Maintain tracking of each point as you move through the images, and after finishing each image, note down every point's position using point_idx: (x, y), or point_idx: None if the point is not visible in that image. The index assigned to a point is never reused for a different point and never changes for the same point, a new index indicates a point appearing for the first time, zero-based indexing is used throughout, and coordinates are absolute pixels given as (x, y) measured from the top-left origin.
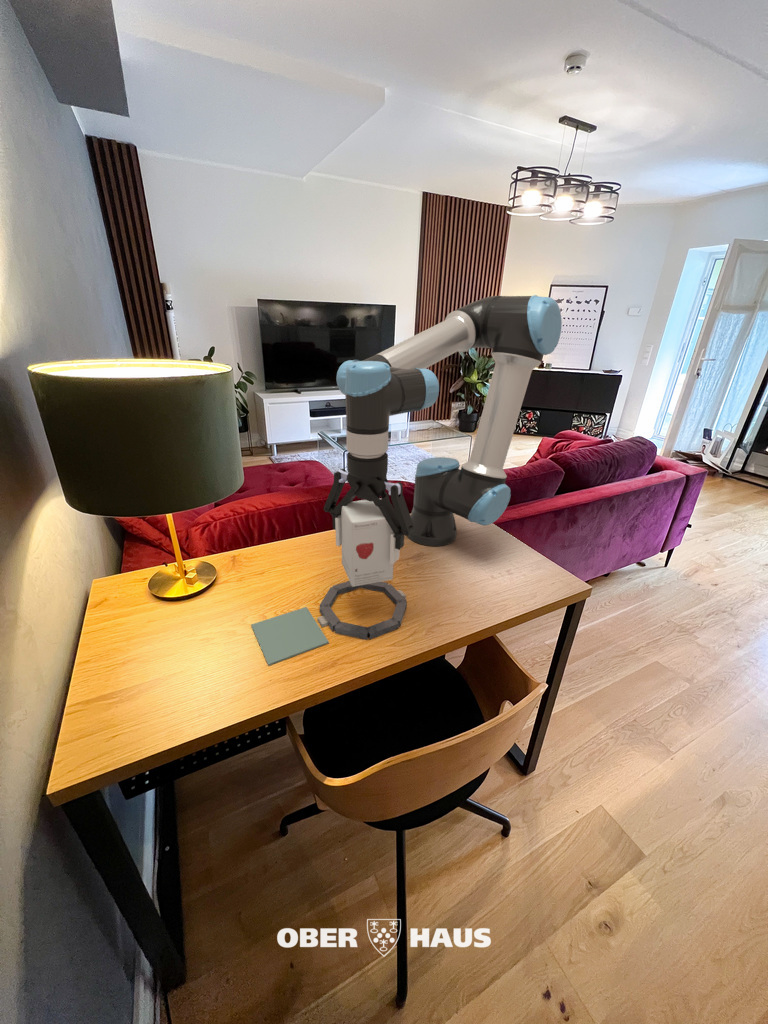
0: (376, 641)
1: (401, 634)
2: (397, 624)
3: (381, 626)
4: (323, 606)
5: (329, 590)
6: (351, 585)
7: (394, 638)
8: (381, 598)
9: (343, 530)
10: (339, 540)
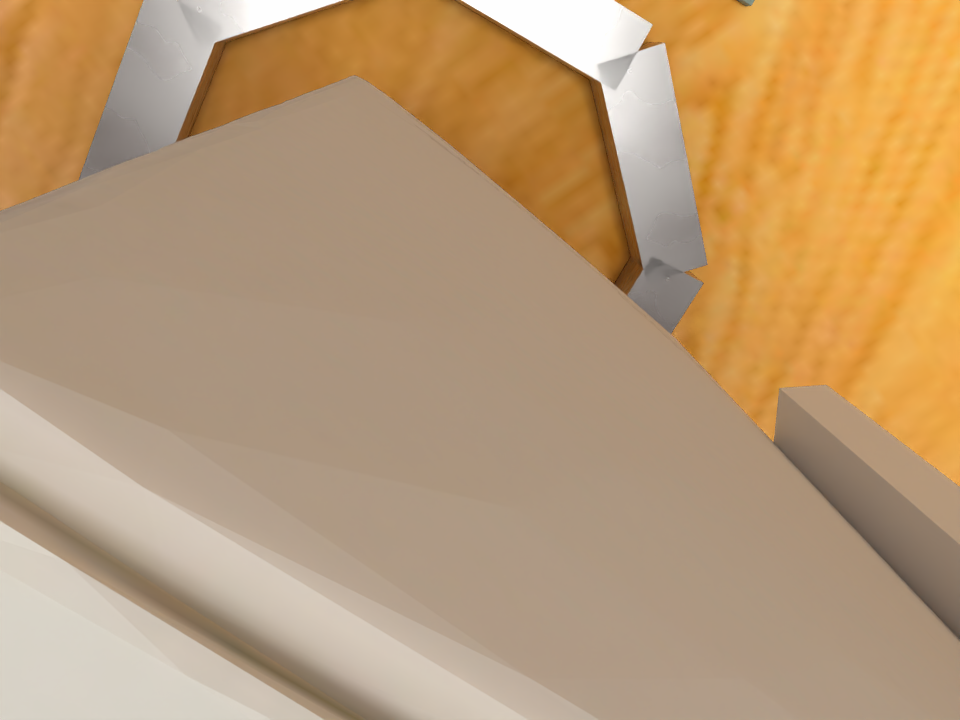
0: (118, 4)
1: (32, 169)
2: None
3: (138, 110)
4: (629, 48)
5: (693, 227)
6: None
7: (42, 106)
8: None
9: (828, 517)
10: (820, 439)
